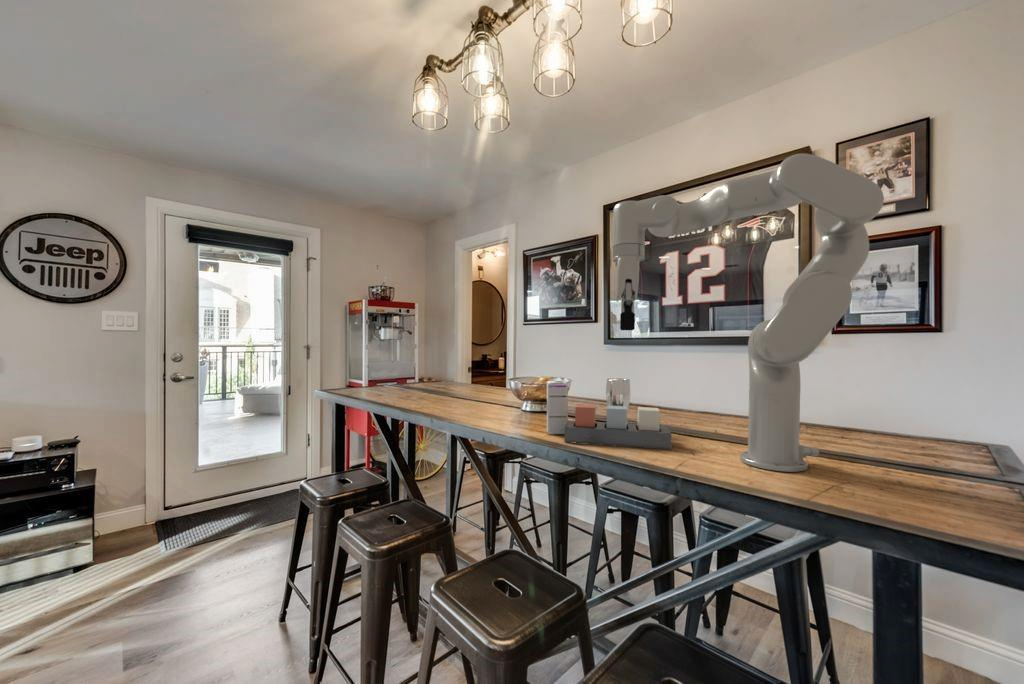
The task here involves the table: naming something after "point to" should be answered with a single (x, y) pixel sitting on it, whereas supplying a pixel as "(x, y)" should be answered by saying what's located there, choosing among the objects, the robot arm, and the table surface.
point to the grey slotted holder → (618, 436)
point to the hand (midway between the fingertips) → (627, 329)
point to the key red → (585, 415)
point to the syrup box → (557, 406)
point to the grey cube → (616, 417)
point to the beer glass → (618, 392)
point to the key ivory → (648, 419)
